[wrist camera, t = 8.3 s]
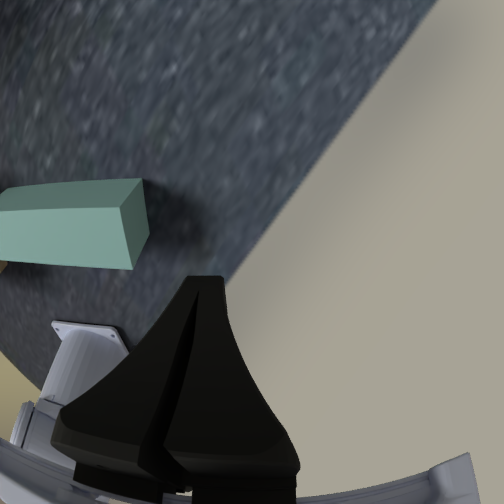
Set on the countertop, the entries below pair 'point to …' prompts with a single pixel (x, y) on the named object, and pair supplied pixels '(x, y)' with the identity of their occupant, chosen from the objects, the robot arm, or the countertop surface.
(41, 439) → the robot arm
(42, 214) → the mint green rectangular prism
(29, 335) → the countertop surface
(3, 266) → the block
